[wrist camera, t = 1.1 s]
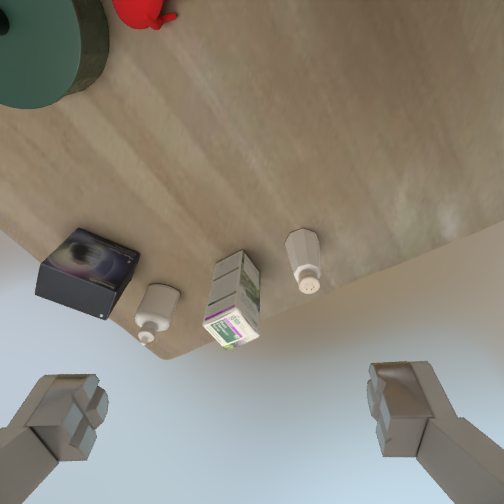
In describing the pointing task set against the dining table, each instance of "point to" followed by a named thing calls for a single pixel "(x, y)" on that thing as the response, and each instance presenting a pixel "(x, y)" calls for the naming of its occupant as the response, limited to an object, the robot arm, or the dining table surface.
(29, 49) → the lid
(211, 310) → the syrup box
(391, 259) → the dining table surface
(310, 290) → the salt shaker
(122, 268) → the small box
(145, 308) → the eye dropper bottle
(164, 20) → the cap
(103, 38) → the pot
